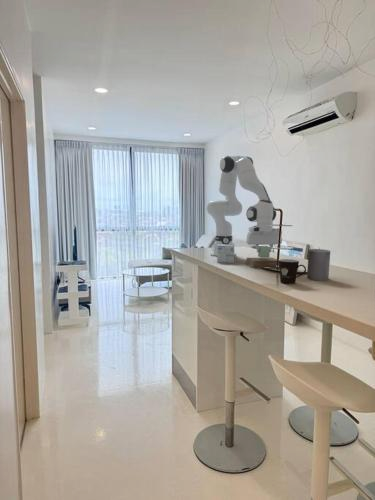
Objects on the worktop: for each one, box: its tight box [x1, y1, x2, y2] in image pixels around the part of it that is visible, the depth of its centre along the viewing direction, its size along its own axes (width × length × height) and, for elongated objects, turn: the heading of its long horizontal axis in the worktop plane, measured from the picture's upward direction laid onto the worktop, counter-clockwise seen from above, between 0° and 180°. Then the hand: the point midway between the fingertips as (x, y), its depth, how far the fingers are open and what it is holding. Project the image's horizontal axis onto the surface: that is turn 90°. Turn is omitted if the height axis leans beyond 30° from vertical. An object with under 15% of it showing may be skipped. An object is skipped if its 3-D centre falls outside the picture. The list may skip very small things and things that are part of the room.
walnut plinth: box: [245, 257, 279, 269], centre depth 197 cm, size 14×16×4 cm
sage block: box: [257, 245, 271, 258], centre depth 196 cm, size 5×5×6 cm
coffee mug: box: [278, 258, 307, 285], centre depth 150 cm, size 12×9×10 cm
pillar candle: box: [306, 247, 331, 282], centre depth 161 cm, size 10×10×15 cm
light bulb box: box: [216, 244, 235, 264], centre depth 212 cm, size 11×7×11 cm, turn 84°
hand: (263, 252), depth 197 cm, fingers closed on sage block, 5 cm apart
